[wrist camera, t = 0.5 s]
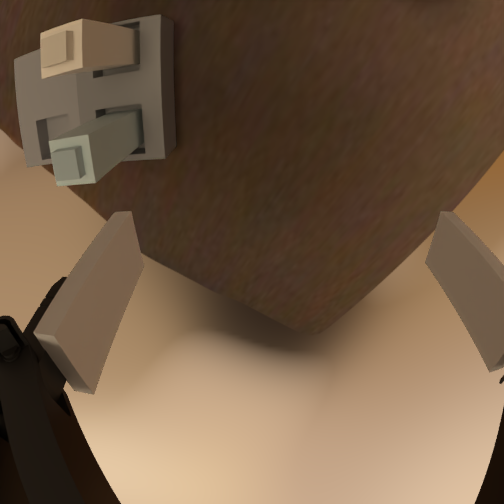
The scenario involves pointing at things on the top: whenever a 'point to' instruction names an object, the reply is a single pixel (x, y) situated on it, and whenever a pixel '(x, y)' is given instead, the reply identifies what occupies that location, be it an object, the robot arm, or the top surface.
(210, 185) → the top surface
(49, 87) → the panel
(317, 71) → the top surface
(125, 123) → the plug
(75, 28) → the plug
